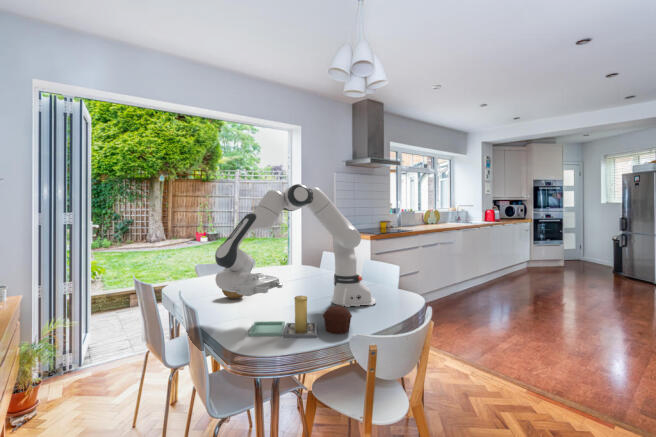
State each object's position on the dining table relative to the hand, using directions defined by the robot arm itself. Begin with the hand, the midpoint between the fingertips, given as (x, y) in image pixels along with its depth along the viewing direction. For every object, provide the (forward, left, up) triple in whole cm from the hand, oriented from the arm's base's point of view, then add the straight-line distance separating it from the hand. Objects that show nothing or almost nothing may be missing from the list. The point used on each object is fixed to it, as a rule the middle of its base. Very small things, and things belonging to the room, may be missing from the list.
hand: (274, 288), depth 129 cm
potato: (+26, -43, -16) cm, 53 cm away
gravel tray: (-11, +6, -16) cm, 20 cm away
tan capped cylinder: (-11, +6, -15) cm, 20 cm away
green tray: (+2, +4, -16) cm, 17 cm away
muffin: (-25, +5, -16) cm, 30 cm away
